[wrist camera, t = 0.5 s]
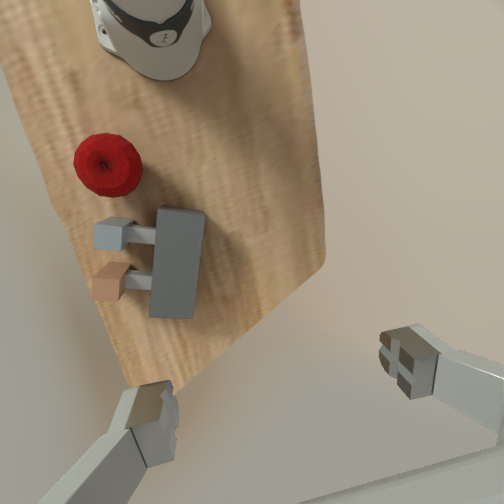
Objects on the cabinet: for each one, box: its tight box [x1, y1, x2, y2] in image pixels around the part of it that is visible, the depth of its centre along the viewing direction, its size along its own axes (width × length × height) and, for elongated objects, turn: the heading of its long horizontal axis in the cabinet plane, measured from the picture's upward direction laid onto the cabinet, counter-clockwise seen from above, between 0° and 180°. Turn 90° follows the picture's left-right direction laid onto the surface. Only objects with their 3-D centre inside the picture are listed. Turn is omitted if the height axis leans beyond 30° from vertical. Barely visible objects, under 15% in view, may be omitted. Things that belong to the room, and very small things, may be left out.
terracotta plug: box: [92, 262, 152, 301], centre depth 48 cm, size 4×10×9 cm, turn 81°
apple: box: [73, 133, 143, 198], centre depth 42 cm, size 10×10×11 cm
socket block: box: [149, 206, 205, 319], centre depth 50 cm, size 20×8×8 cm, turn 171°
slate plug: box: [94, 217, 156, 251], centre depth 46 cm, size 4×10×9 cm, turn 81°
